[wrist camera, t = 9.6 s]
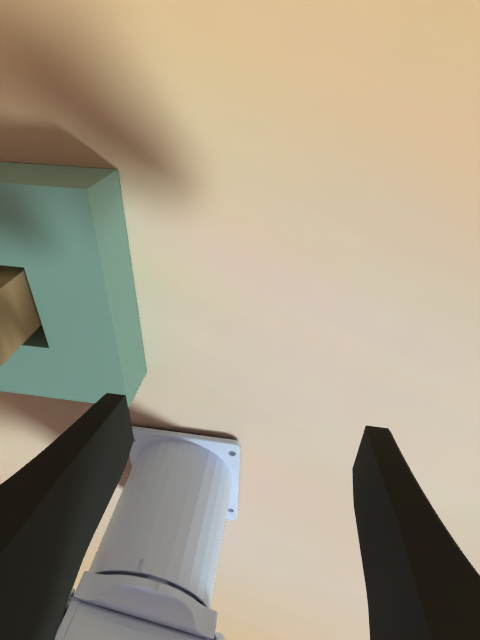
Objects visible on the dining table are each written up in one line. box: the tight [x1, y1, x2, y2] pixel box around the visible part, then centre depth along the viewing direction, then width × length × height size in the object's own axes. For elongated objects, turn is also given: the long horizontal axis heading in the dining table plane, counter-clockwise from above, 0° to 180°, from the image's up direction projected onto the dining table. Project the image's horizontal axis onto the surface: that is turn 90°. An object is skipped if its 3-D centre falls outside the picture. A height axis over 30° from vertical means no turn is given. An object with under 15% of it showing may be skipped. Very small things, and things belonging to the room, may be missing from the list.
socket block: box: [0, 162, 147, 408], centre depth 20 cm, size 12×12×3 cm
